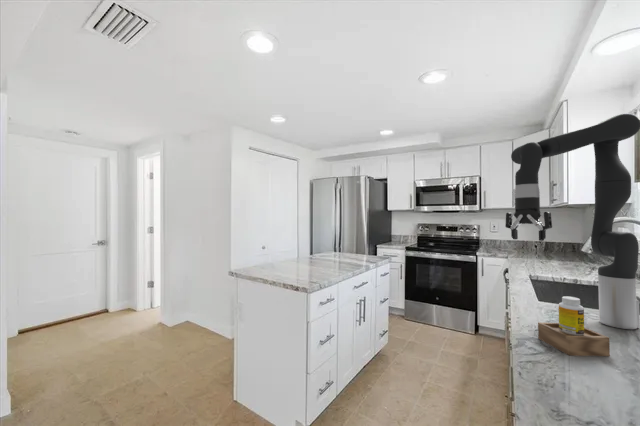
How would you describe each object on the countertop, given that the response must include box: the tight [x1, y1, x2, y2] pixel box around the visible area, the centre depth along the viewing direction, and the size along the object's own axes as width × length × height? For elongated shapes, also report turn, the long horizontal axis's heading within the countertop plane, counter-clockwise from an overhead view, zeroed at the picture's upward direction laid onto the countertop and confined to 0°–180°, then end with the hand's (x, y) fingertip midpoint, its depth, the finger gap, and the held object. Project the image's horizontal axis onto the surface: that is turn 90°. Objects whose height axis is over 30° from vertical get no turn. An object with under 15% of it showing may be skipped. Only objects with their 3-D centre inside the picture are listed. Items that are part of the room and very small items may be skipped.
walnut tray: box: [537, 321, 611, 357], centre depth 82 cm, size 11×11×5 cm
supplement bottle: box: [558, 295, 585, 336], centre depth 82 cm, size 6×6×10 cm
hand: (527, 240), depth 104 cm, fingers open, 8 cm apart
